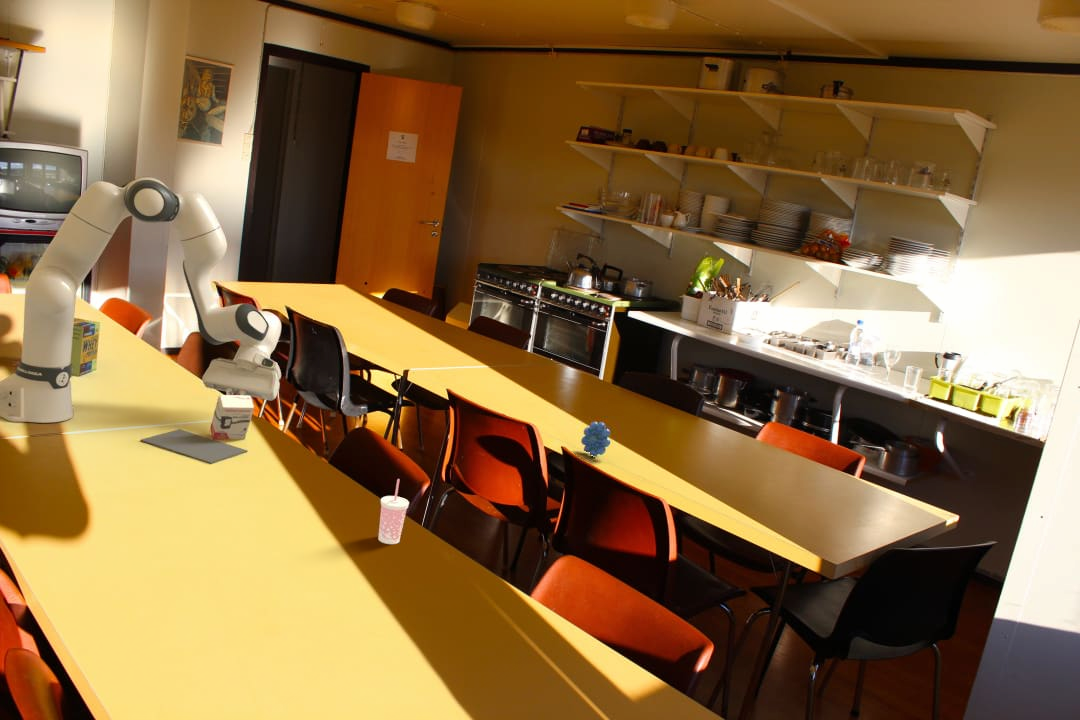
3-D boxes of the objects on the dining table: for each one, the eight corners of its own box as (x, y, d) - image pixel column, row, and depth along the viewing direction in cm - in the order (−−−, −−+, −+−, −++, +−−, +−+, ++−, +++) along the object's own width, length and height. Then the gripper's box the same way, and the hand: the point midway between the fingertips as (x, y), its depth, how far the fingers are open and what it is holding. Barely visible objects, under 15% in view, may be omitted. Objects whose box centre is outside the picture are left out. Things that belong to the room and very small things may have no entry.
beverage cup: (390, 548, 191) (399, 486, 188) (368, 538, 194) (378, 477, 191) (408, 541, 196) (418, 481, 194) (387, 531, 199) (397, 472, 197)
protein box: (79, 377, 270) (84, 327, 268) (29, 368, 270) (32, 317, 267) (97, 370, 281) (101, 322, 278) (48, 361, 280) (52, 313, 278)
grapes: (614, 462, 284) (622, 426, 282) (600, 463, 280) (607, 427, 277) (589, 450, 293) (596, 415, 290) (574, 451, 288) (581, 415, 286)
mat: (140, 441, 226) (140, 439, 226) (179, 430, 240) (179, 429, 239) (210, 464, 220) (210, 462, 220) (247, 451, 233) (247, 450, 233)
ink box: (212, 440, 237) (222, 406, 231) (209, 427, 240) (218, 394, 234) (245, 440, 242) (255, 407, 236) (241, 427, 245) (251, 394, 239)
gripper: (211, 350, 246) (190, 391, 238) (283, 364, 245) (264, 406, 237) (216, 363, 251) (196, 404, 243) (286, 377, 250) (269, 418, 242)
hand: (230, 405), depth 240 cm, fingers closed
